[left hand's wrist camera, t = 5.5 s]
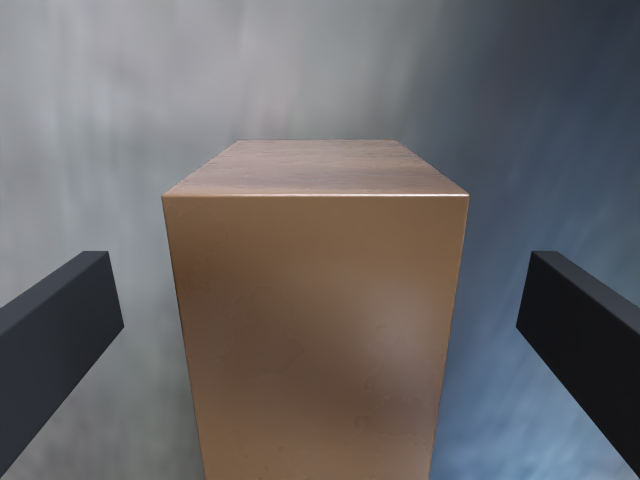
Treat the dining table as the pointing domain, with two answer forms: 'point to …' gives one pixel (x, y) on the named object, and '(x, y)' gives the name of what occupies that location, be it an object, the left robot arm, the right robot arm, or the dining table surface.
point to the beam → (316, 306)
